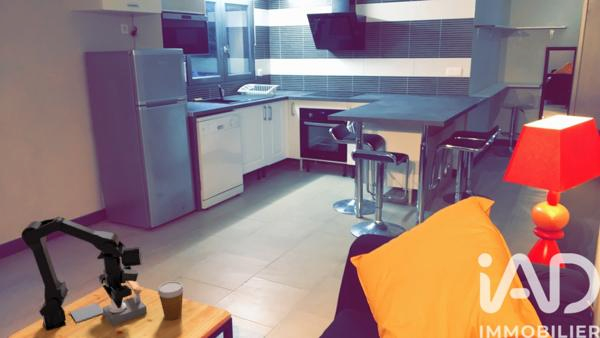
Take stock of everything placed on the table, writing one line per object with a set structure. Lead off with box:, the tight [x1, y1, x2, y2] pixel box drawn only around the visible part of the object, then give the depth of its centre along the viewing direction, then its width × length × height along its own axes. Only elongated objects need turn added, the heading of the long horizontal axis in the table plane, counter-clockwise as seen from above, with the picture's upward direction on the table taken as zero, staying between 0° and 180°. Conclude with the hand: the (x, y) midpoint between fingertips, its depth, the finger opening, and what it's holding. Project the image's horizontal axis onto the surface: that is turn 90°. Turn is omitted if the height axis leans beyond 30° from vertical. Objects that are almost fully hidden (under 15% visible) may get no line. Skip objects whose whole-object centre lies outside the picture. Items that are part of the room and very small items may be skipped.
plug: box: [109, 298, 126, 314], centre depth 175 cm, size 6×6×7 cm
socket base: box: [102, 292, 148, 326], centre depth 177 cm, size 13×10×7 cm
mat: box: [69, 302, 104, 324], centre depth 178 cm, size 10×9×1 cm
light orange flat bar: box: [126, 280, 142, 295], centre depth 184 cm, size 14×3×1 cm, turn 34°
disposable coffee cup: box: [157, 280, 185, 321], centre depth 175 cm, size 10×10×12 cm
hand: (117, 305), depth 175 cm, fingers closed on plug, 4 cm apart
